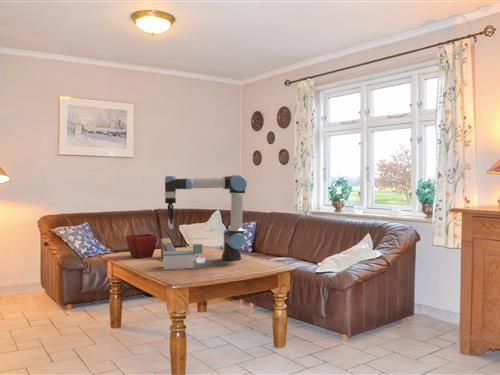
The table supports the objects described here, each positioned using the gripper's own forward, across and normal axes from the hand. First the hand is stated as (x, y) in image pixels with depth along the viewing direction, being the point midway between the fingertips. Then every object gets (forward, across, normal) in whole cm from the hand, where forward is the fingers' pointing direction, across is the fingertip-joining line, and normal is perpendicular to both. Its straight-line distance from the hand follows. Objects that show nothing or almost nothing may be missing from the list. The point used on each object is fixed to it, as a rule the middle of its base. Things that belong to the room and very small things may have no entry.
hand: (170, 227), depth 318 cm
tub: (+27, +12, +4) cm, 30 cm away
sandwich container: (+28, -29, +2) cm, 40 cm away
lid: (+17, +11, +7) cm, 22 cm away
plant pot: (+27, -41, -20) cm, 53 cm away
